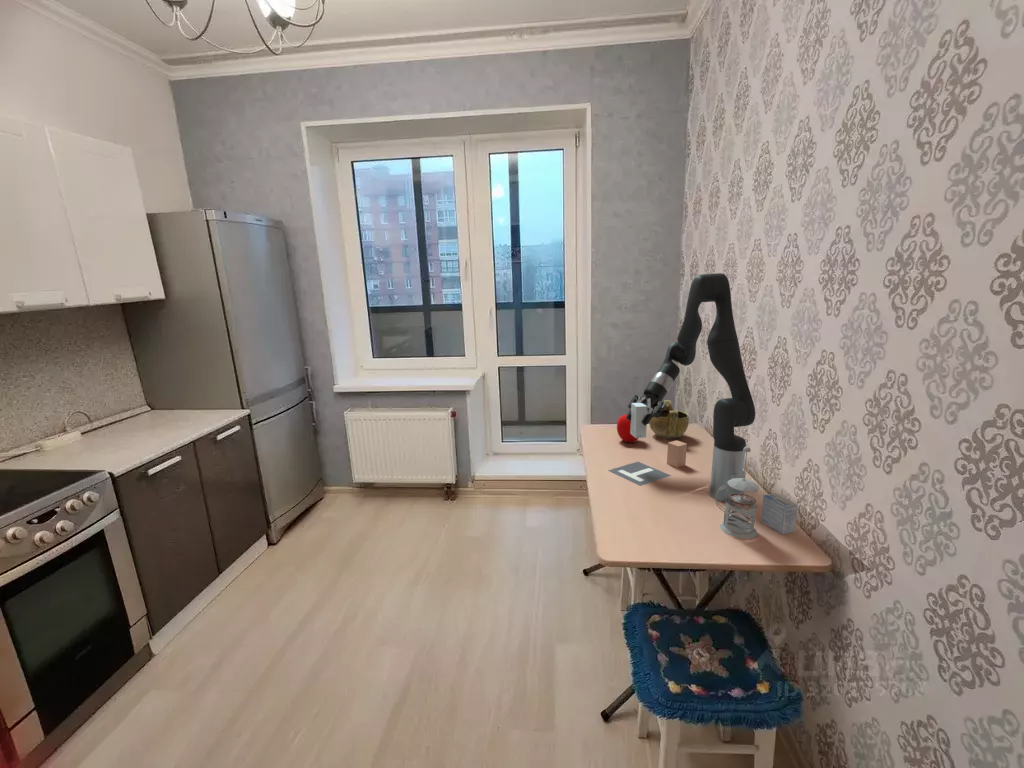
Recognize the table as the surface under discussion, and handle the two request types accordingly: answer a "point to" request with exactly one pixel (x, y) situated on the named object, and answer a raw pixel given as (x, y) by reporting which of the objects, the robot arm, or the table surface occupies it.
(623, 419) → the red apple
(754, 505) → the french press
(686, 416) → the ceramic bowl
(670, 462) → the peach block
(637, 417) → the skincare box
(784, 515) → the medicine box
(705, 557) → the table surface
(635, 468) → the letter card
